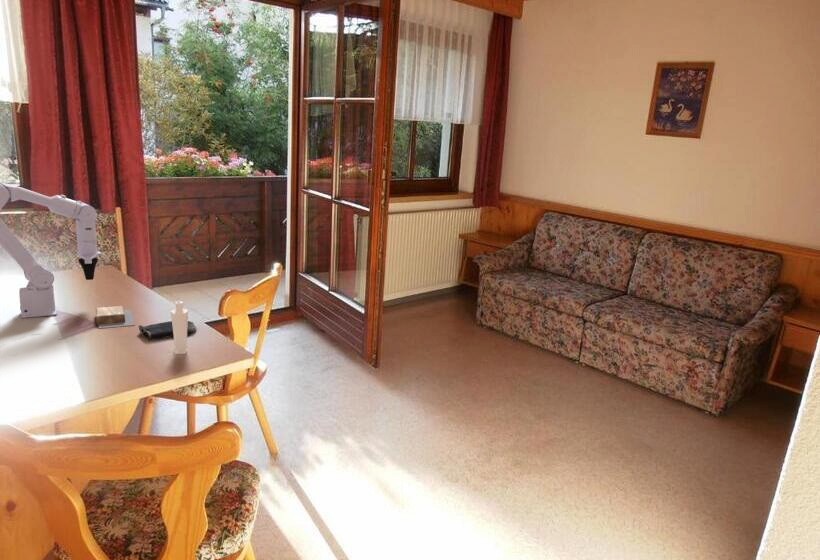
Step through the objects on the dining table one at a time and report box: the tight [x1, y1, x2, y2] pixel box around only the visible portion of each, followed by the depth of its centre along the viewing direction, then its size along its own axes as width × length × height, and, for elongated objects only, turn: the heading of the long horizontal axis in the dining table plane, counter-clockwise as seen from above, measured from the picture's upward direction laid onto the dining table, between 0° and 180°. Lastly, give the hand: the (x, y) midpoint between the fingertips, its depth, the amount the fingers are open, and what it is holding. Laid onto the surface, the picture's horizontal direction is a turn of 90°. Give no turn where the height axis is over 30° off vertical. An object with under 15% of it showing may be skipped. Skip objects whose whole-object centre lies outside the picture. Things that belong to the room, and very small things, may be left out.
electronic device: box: [138, 320, 197, 341], centre depth 177 cm, size 10×6×15 cm
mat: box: [98, 308, 136, 330], centre depth 186 cm, size 10×16×1 cm, turn 29°
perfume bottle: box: [170, 300, 189, 355], centre depth 163 cm, size 5×4×15 cm
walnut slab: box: [95, 305, 125, 325], centre depth 185 cm, size 3×9×8 cm
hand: (89, 279), depth 193 cm, fingers closed
